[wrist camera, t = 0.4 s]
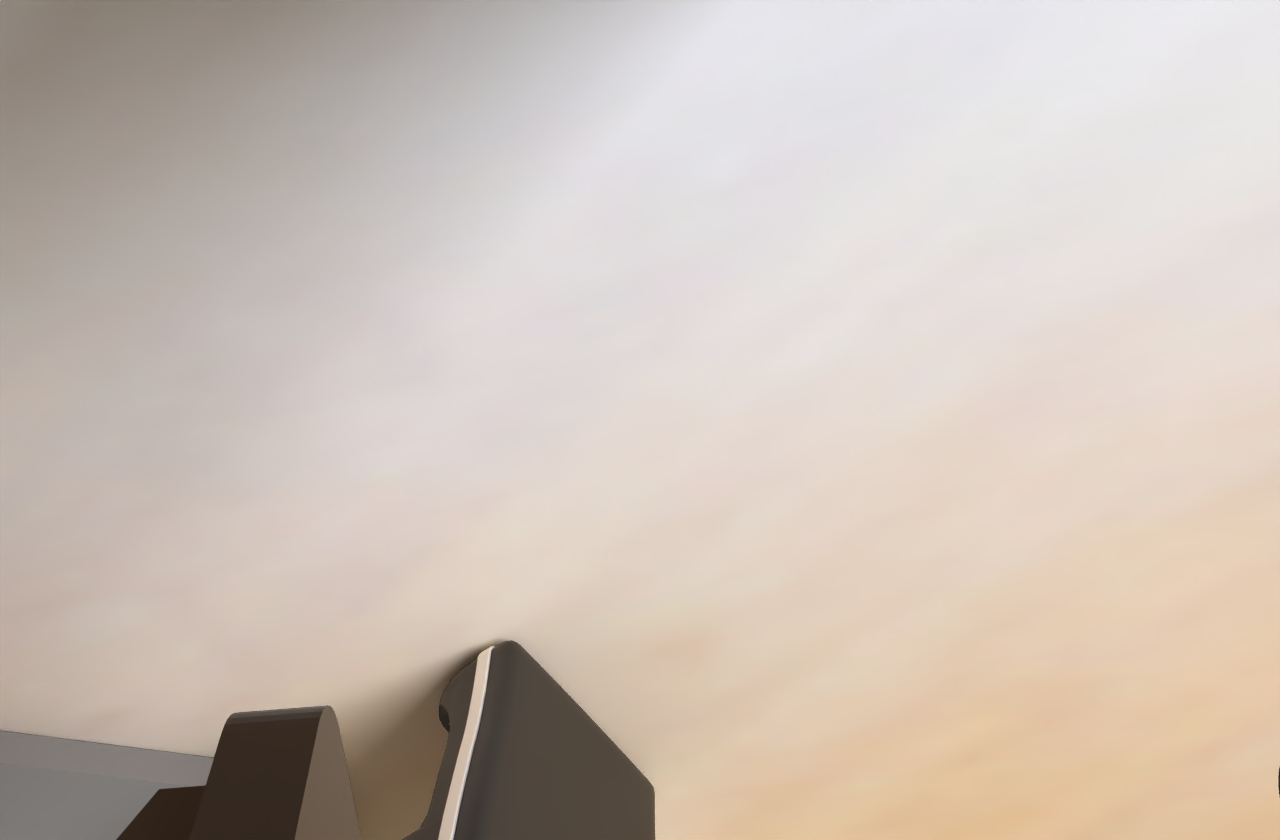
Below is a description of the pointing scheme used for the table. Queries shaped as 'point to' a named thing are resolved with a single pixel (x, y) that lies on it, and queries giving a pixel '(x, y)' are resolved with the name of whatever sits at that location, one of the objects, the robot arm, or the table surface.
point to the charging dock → (83, 786)
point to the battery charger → (529, 762)
